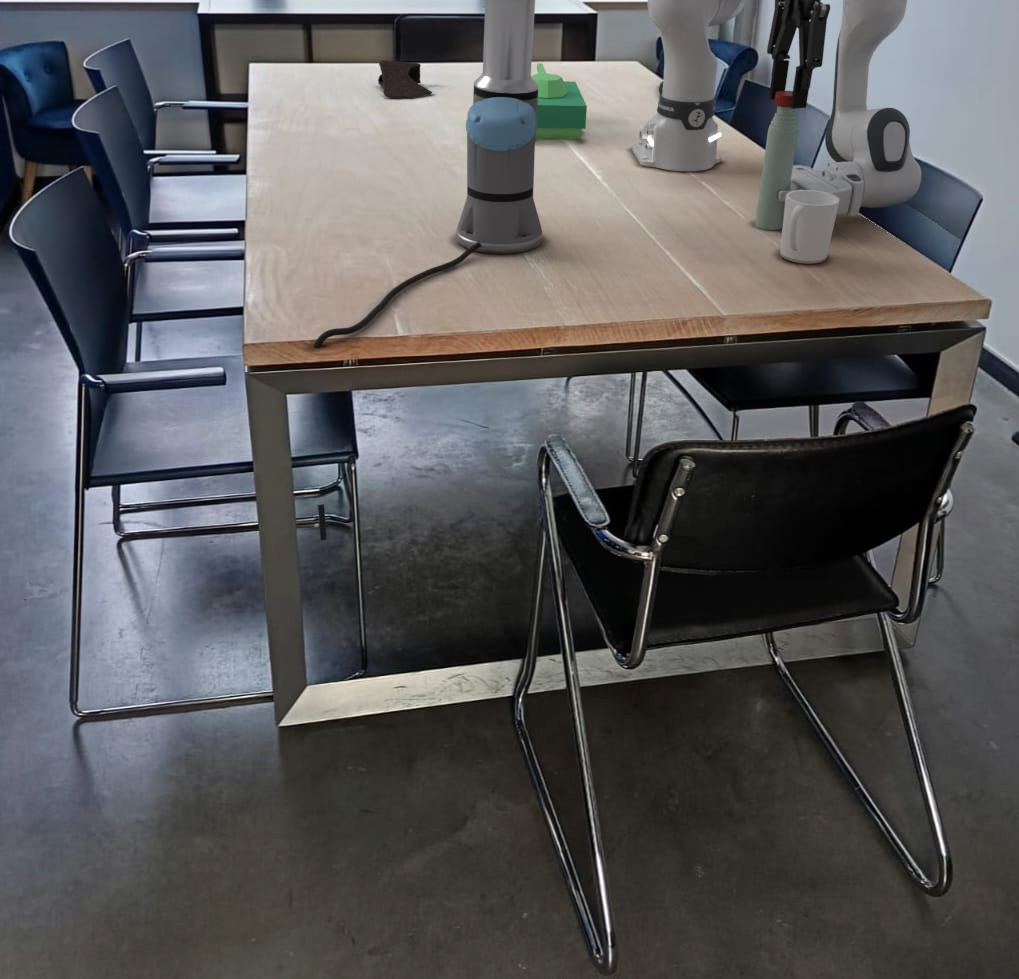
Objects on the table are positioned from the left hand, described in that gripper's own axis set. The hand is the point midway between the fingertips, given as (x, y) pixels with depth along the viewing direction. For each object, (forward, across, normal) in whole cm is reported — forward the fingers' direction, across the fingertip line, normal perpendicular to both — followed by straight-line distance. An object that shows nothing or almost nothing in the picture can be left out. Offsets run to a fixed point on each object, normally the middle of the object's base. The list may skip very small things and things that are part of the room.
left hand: (787, 103), depth 195 cm
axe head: (+22, -131, -37) cm, 138 cm away
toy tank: (+22, -84, -14) cm, 88 cm away
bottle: (+22, 0, 0) cm, 22 cm away
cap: (-1, 0, 0) cm, 1 cm away
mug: (+22, +18, -4) cm, 29 cm away
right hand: (+16, 0, -1) cm, 16 cm away
